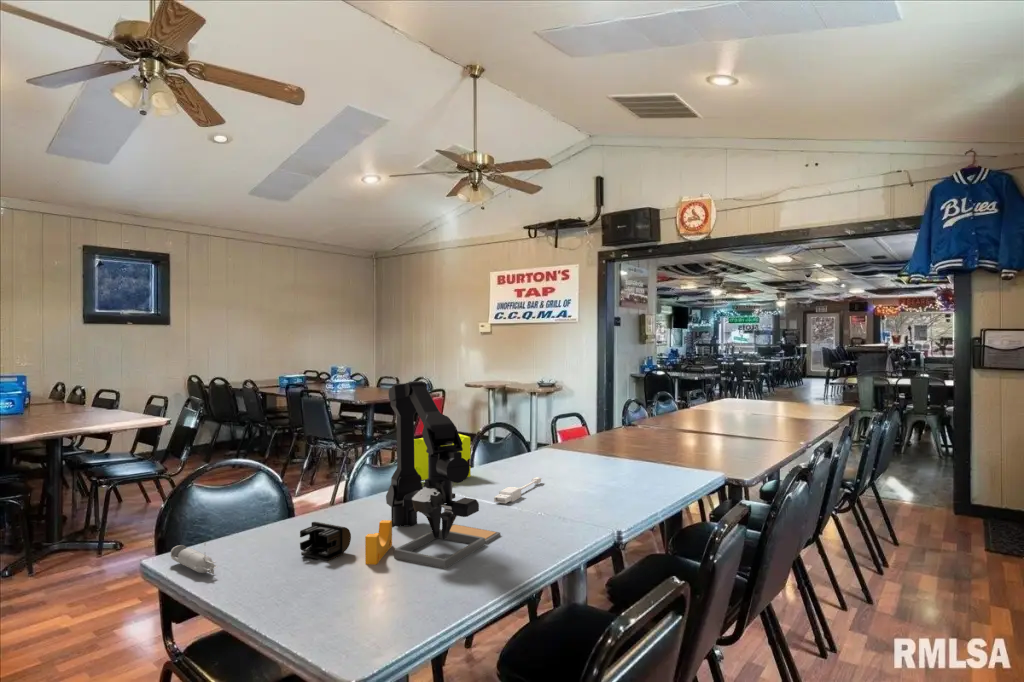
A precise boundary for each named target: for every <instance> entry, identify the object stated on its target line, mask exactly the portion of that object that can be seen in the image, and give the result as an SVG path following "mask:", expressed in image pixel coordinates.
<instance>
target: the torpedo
mask: <svg viewBox="0 0 1024 682" xmlns="http://www.w3.org/2000/svg"><path fill="white" fill-rule="evenodd" d="M206 544H207V543H206V542H205V543H204V545H206ZM170 557H171V559H172V560H173V561H174V562H176V563H178V564H180V565H182V566H185V567H187V568H188V569H191V570H192V571H195V572H197V573H198V574H201V573H202V574H205V573H209V574H212V575H215V569H217V568H218V566H217V564H215V563H216V561H213V559H212V557H210V556H209V555H207V554H205V553H202V552H200V551H198V550H195V549H193V548H191V547H187V546H186V545H184V544H180V545H176V546H174V547H172V548H171V550H170Z"/></svg>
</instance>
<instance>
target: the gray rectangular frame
mask: <svg viewBox="0 0 1024 682" xmlns="http://www.w3.org/2000/svg"><path fill="white" fill-rule="evenodd" d="M437 539H441V540H443V538H442V528H440V532H439V537H438V538H434V535H433V532H432V530H431V531H430V532H429V531H428V532H427V533H426V534H423V535H421V536H418V537H417V538H415V539H413V540H410V541H408V542H407V543H405V544H402V545H400V546H398V547H396V548H395V549H394V550H393V558H394V559H396V560H401V561H405V562H410V563H415V564H420V565H426V566H430V567H434V568H435V567H436V568H439V569H445V570H446V569H447V568H448V567H451V566H452V565H454V564H455V563H457V562H459V561H461V560H462V559H464V558H466V557H467V556H469V555H471V554H472V553H474V552H475V551H477V550H479V549H480V548H482V547H484V546H485V545H486V544H485V538H483V537H478V536H473V535H467V534H462V533H457V532H451V531H450V532H449V534H448V536H447V539H445V541H446V540H447V541H452V542H457V543H463V544H468V545H466V546H464V547H463V548H461V549H460V550H457V551H455V552H454V553H452V554H451V555H449V556H447V557H446V558H441V557H438V556H437V557H436V556H432V555H428V554H423V553H422V554H421V553H419V552H415V551H414V550H417V549H418V548H421V547H422V546H425V545H426V544H429V543H430V542H432V541H435V540H437Z"/></svg>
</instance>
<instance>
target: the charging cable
mask: <svg viewBox="0 0 1024 682" xmlns="http://www.w3.org/2000/svg"><path fill="white" fill-rule="evenodd" d="M542 479H543V477H542V478H541V477H537V476H536V477H533V478H531V482H528V483H526V484H525V485H523V486H521V487H514V486H507V487H506V488H504V489H502V490H500V491H498V494H497V495H496V496H494V497H493V501H494V503H501V504H507V503H513V502H515V501H516V500H517V501H518V499H520V498H522V490H523V489H527V487H530V486H532V485H533V484H540V483H541V482H542Z"/></svg>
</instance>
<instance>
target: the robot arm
mask: <svg viewBox="0 0 1024 682" xmlns="http://www.w3.org/2000/svg"><path fill="white" fill-rule="evenodd" d="M388 399H389V400H388V401H390V407H391V408H392V411H393V412H394V413H395V415H396V462H397V463H396V469H395V471H394V472H393V474H392V475H391V478H390V479H391V481H390V485H389V487H388V490H387V492H386V495H385V500H386V504H387V505H388V506H390V508H391V509H390V510H391V513H390V514H391V520H392V528H394V527H413V526H414V525H415V526H416V525H418V513H421V514H422V515H424V516H425V517H426V519H427V521H428V523H429V526H430V528H431V531H432V532H433V535H434V538H436V539H439V538H438V537H439V532H440V529H441V530H442V538H443V539H442V541H446V539H447V536H448V534H449V532H450V529H451V527H452V525H453V524H454V522H455V520H456V518H457V517H462V518H465V517H469V516H471V515H474V514H475V513H477V512H480V504H479V502H478V500H477V499H475V498H468V497H462V498H460V499H458V500H454V499H455V498H456V493H454V492H453V483H455V484H459V483H462V482H464V481H465V480H466V479H467V478H468V477H467V476H468V474H469V470H470V467H469V466H470V464H469V463H468V460H467V461H466V460H465V459H464V458H462V453H461V452H458V451H463V448H462V444H463V443H462V441H461V439H460V436H459V434H460V433H459V432H458V428H457V427H456V425H455V424H454V422H453V421H452V420H451V418H450V417H449V416H447V415H445V414H443V413H442V412H440V410H439V408H438V406H437V404H436V402H435V401H434V399H433V397H432V395H431V394H430V392H429V390H428V385H427V383H426V382H425V381H422V380H416V381H412V380H411V381H408V382H404V383H394V384H393V385H391V387H390V388H389V389H388ZM416 413H417V414H418V417H419V418H420V420H421V423H422V424H423V428H422V433H421V435H422V438H423V440H424V442H425V444H426V446H427V450H426V452H427V453H428V479H425V480H424V482H423V483H424V486H423V483H422V480H421V476H420V475H419V474H418V473H417V471H416V469H415V466H414V439H415V414H416ZM453 443H454V445H452V444H453ZM444 445H447V446H444ZM442 508H444V510H442ZM442 511H443V512H442Z"/></svg>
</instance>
